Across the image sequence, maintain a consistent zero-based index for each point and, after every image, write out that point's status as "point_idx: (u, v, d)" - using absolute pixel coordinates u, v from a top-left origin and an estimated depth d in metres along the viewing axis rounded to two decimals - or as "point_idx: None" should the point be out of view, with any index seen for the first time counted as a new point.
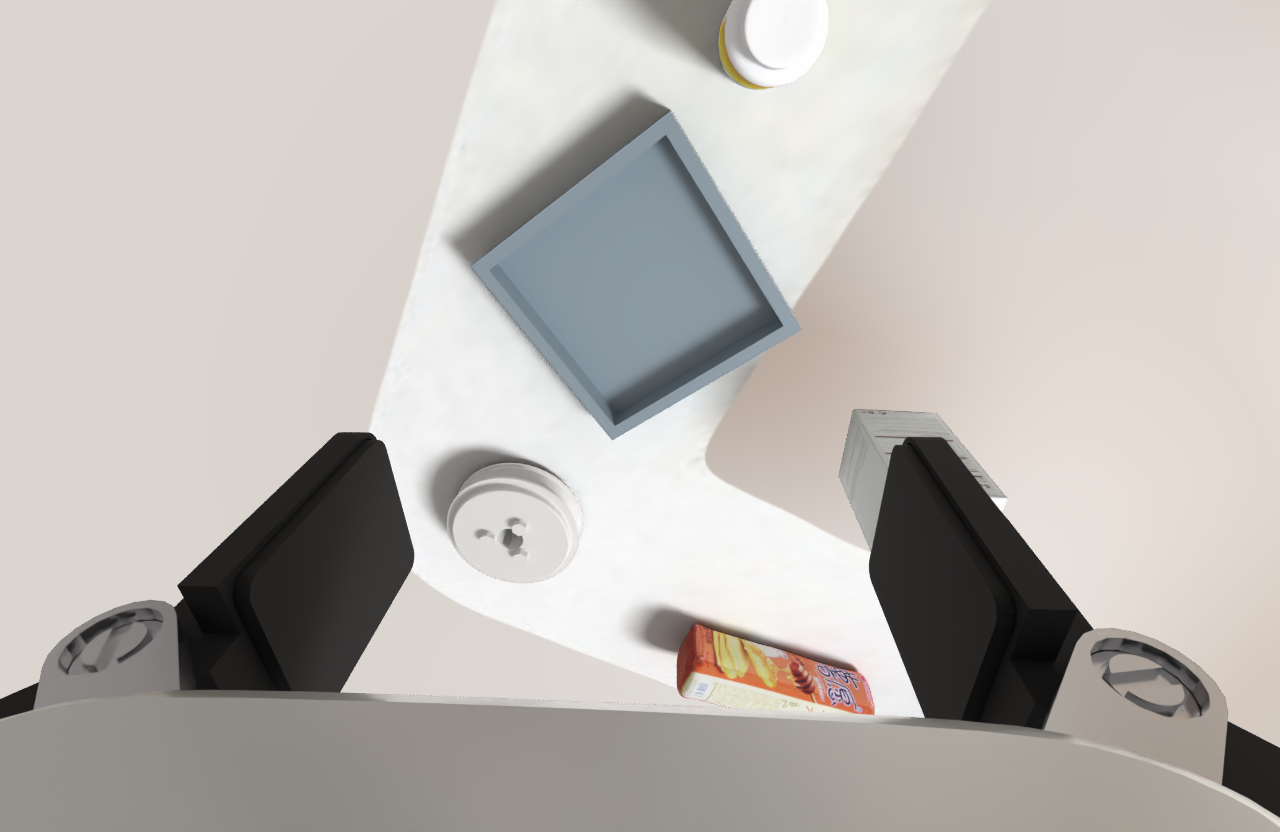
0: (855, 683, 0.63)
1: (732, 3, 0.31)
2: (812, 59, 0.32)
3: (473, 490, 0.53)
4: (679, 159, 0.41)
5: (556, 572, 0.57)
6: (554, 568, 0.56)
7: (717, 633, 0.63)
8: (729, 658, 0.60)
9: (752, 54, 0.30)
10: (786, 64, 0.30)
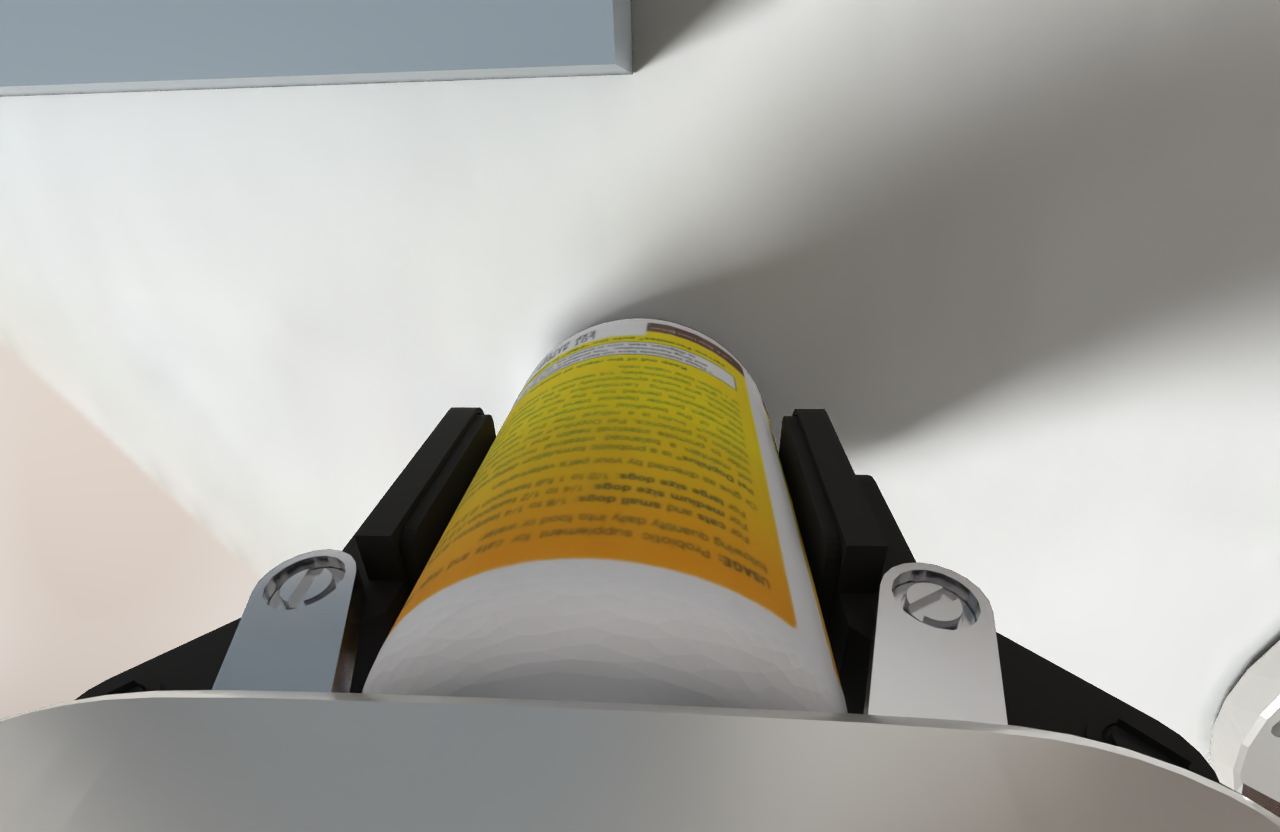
0: None
1: (829, 705, 0.06)
2: None
3: None
4: None
5: None
6: None
7: None
8: None
9: None
10: None
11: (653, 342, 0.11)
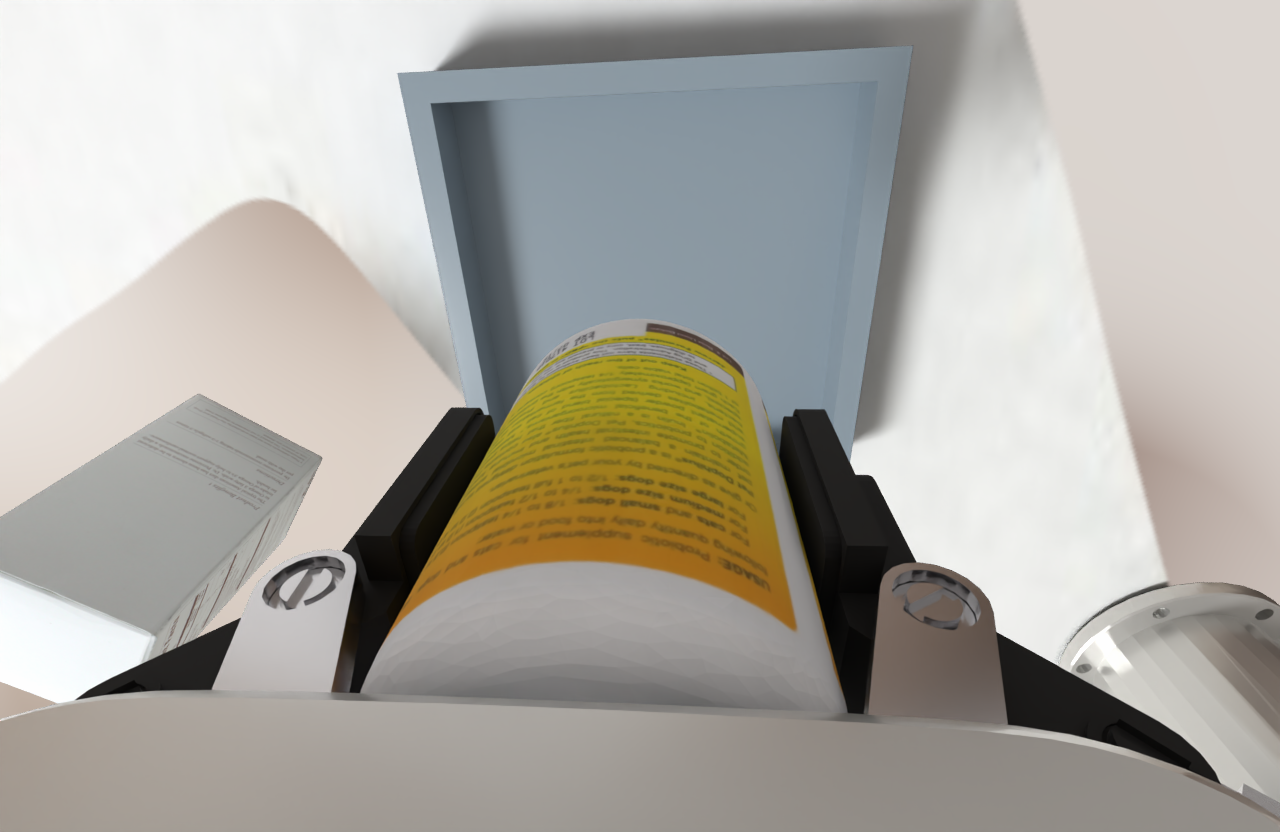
0: None
1: (830, 709, 0.06)
2: None
3: None
4: (780, 440, 0.30)
5: None
6: None
7: None
8: None
9: None
10: None
11: (652, 343, 0.10)
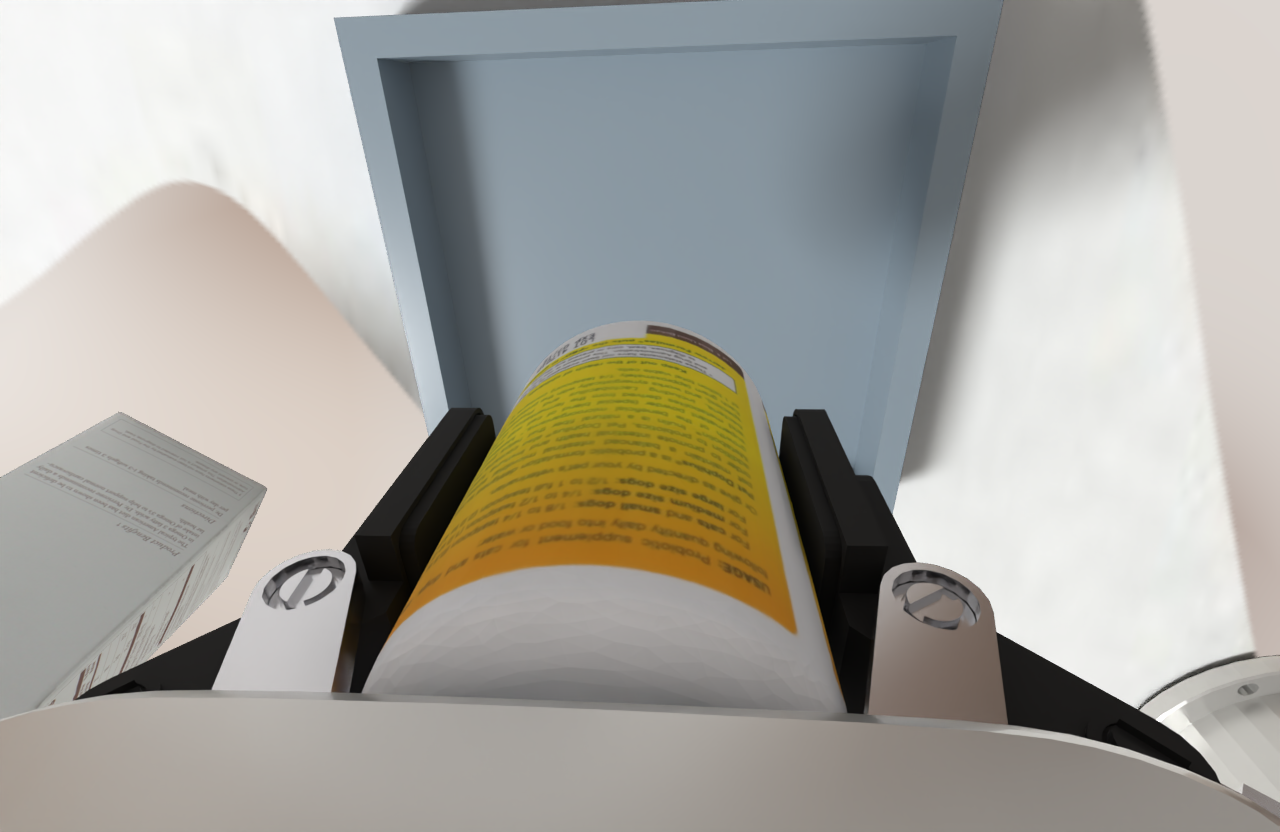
0: None
1: None
2: None
3: None
4: None
5: None
6: None
7: None
8: None
9: None
10: None
11: (653, 345, 0.10)
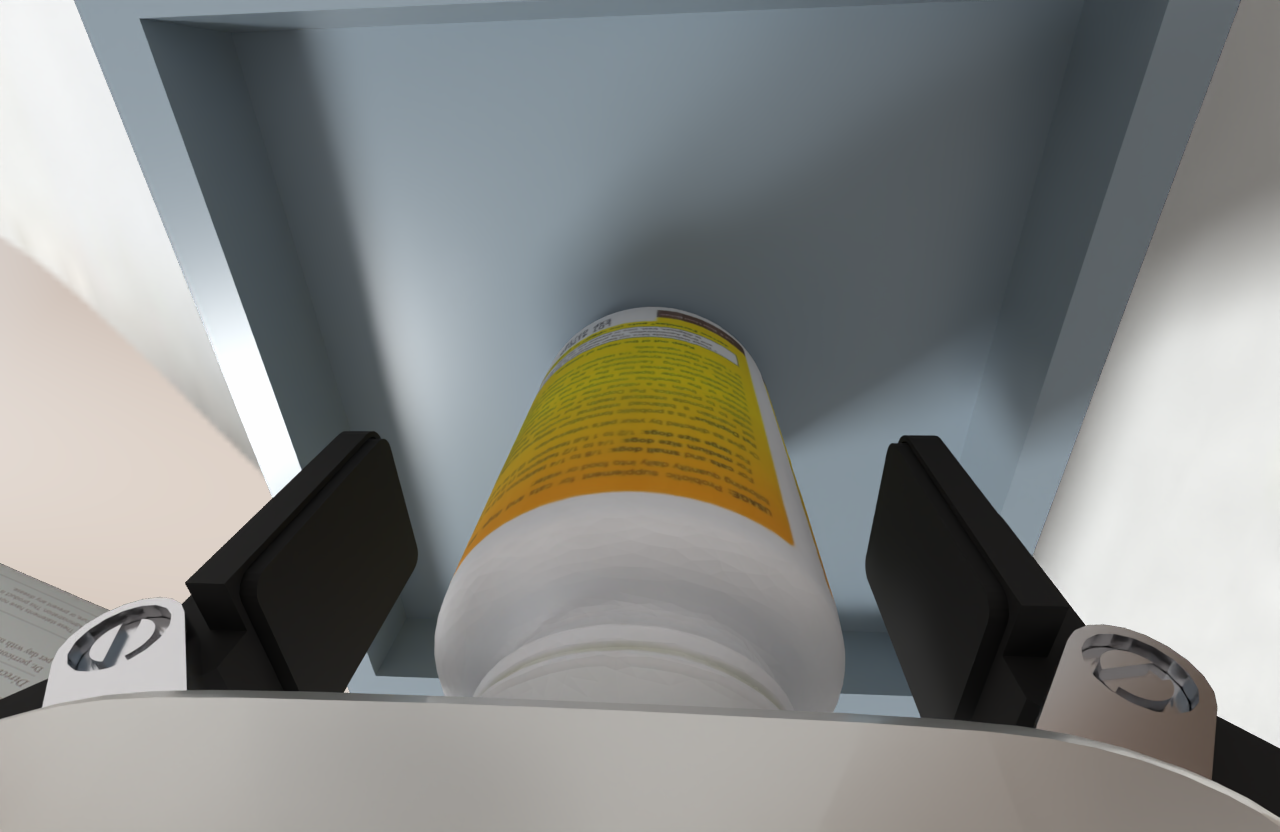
0: None
1: (822, 605, 0.07)
2: None
3: None
4: (850, 626, 0.18)
5: None
6: None
7: None
8: None
9: None
10: None
11: (663, 326, 0.12)
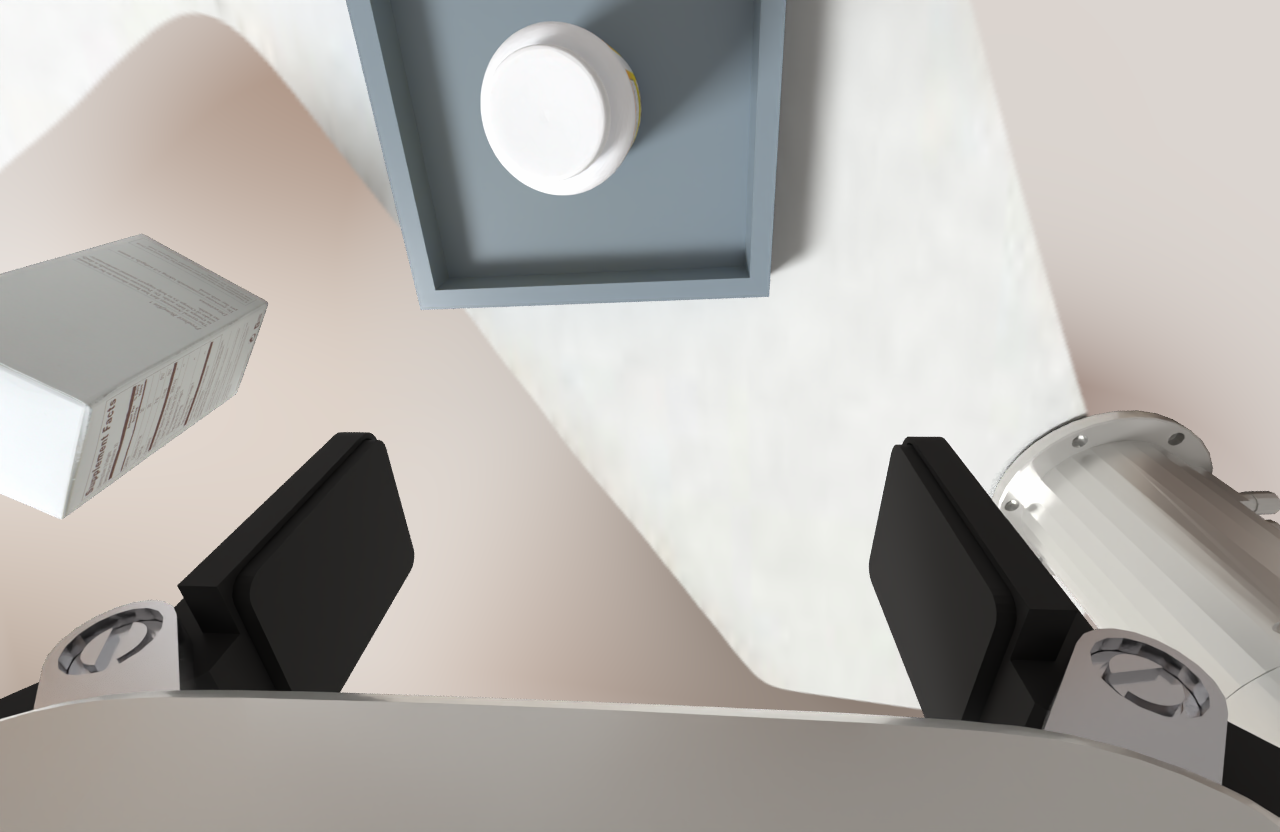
0: None
1: (617, 62, 0.20)
2: (494, 146, 0.21)
3: None
4: (708, 263, 0.31)
5: None
6: None
7: None
8: None
9: (526, 47, 0.18)
10: (488, 95, 0.18)
11: None
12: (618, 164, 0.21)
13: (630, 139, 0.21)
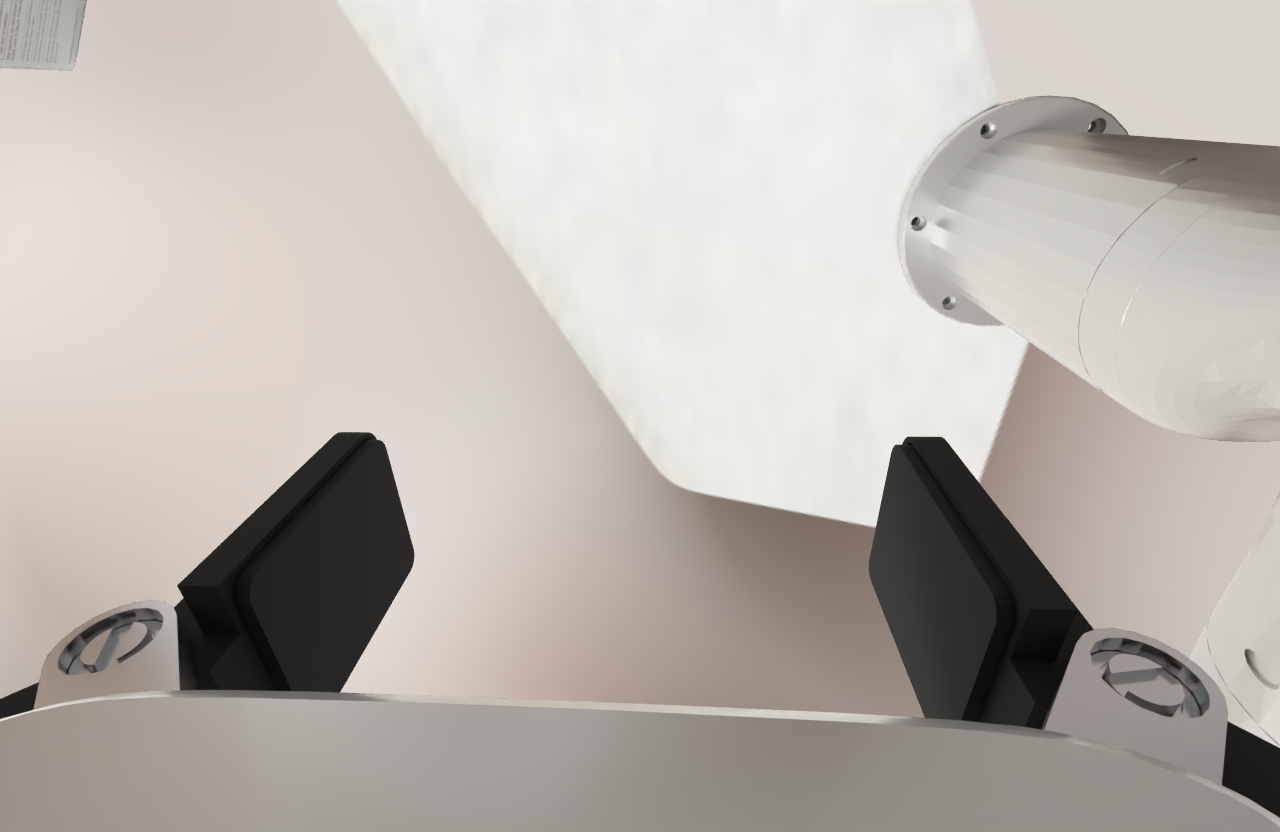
0: None
1: None
2: None
3: None
4: None
5: None
6: None
7: None
8: None
9: None
10: None
11: None
12: None
13: None
